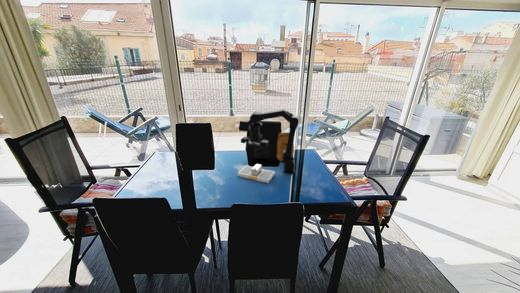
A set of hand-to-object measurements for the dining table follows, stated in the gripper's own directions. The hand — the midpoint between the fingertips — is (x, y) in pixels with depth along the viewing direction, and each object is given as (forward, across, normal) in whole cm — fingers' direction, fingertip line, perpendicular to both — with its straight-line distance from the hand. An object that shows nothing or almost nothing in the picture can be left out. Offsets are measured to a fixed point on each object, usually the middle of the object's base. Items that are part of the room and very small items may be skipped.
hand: (254, 153), depth 150 cm
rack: (+12, -5, +8) cm, 15 cm away
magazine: (+12, +3, -18) cm, 22 cm away
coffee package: (+12, -15, -24) cm, 31 cm away
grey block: (+12, -5, +8) cm, 15 cm away
